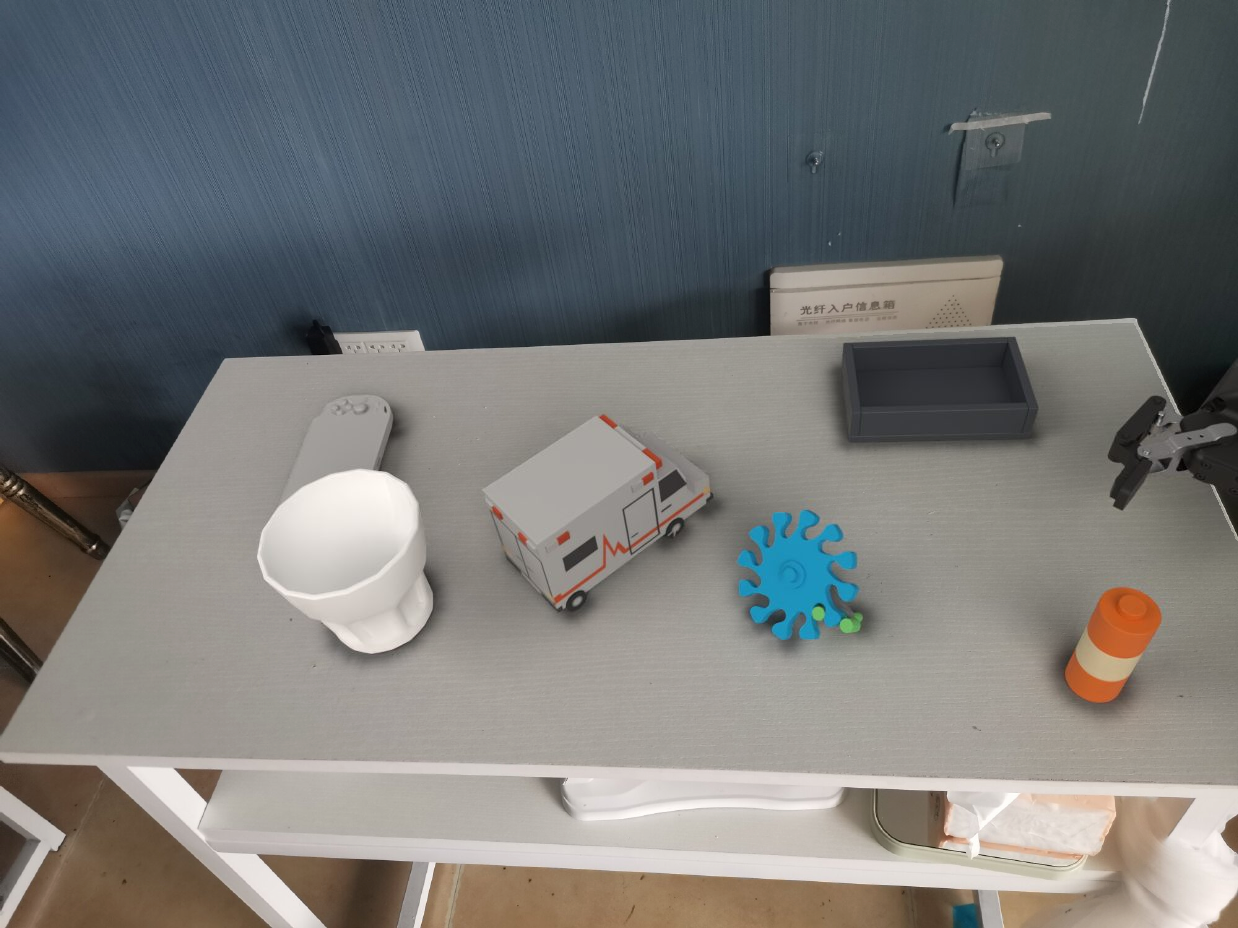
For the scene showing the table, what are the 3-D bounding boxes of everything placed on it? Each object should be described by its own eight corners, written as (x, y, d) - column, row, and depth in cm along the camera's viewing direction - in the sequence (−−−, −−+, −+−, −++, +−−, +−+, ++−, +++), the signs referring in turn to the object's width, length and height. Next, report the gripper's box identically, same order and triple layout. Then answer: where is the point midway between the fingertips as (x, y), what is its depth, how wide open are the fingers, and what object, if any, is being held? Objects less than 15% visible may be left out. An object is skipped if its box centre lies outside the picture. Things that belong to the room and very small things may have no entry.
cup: (281, 645, 74) (221, 567, 66) (371, 534, 81) (327, 451, 73) (400, 698, 69) (351, 621, 61) (484, 575, 76) (451, 491, 68)
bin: (1007, 367, 85) (1015, 336, 82) (1029, 439, 79) (1039, 408, 76) (840, 372, 87) (843, 342, 85) (849, 442, 81) (852, 413, 78)
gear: (710, 572, 71) (789, 481, 67) (748, 571, 76) (824, 486, 72) (798, 681, 65) (889, 588, 62) (833, 674, 70) (920, 587, 66)
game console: (351, 528, 78) (263, 531, 79) (360, 545, 80) (275, 548, 81) (395, 389, 90) (319, 393, 91) (403, 406, 92) (327, 410, 93)
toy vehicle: (722, 511, 77) (717, 431, 70) (565, 628, 71) (542, 554, 64) (651, 455, 83) (640, 376, 76) (500, 559, 77) (472, 484, 70)
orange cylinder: (1128, 674, 63) (1173, 598, 56) (1109, 712, 61) (1153, 639, 54) (1076, 648, 65) (1114, 572, 58) (1056, 684, 63) (1092, 610, 56)
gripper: (1192, 326, 68) (1094, 447, 62) (1412, 403, 61) (1328, 551, 54) (1160, 396, 74) (1067, 515, 67) (1358, 475, 66) (1276, 618, 59)
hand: (1184, 531), depth 61 cm, fingers open, 8 cm apart
